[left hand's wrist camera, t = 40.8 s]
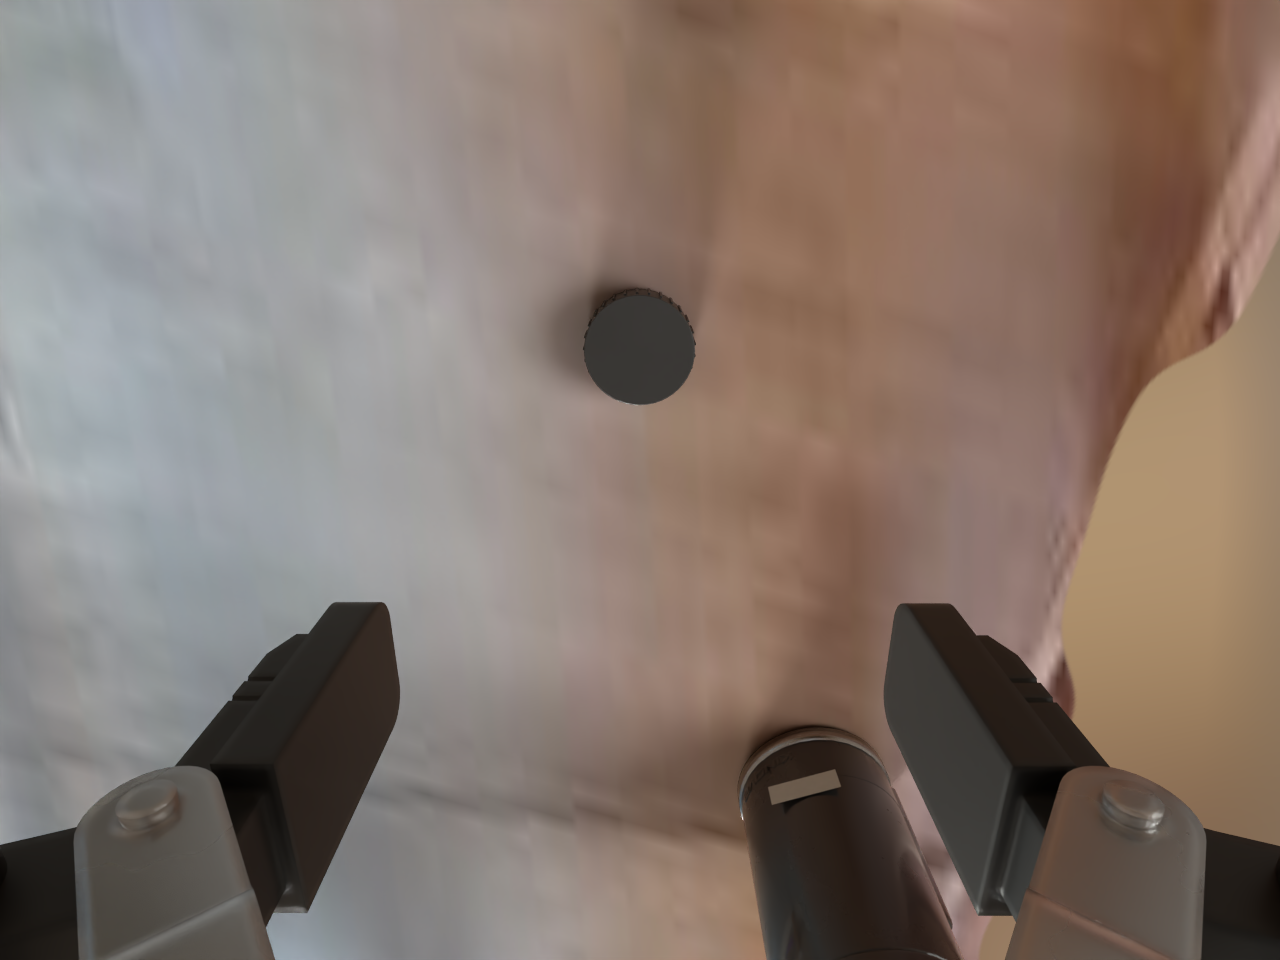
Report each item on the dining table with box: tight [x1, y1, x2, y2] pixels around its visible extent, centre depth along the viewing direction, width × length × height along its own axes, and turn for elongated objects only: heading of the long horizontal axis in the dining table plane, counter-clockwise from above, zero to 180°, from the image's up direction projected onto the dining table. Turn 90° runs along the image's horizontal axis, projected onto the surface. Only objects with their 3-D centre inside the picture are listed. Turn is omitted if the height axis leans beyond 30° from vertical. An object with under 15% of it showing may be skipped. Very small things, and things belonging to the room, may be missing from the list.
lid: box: [583, 288, 696, 405], centre depth 35 cm, size 5×5×2 cm
